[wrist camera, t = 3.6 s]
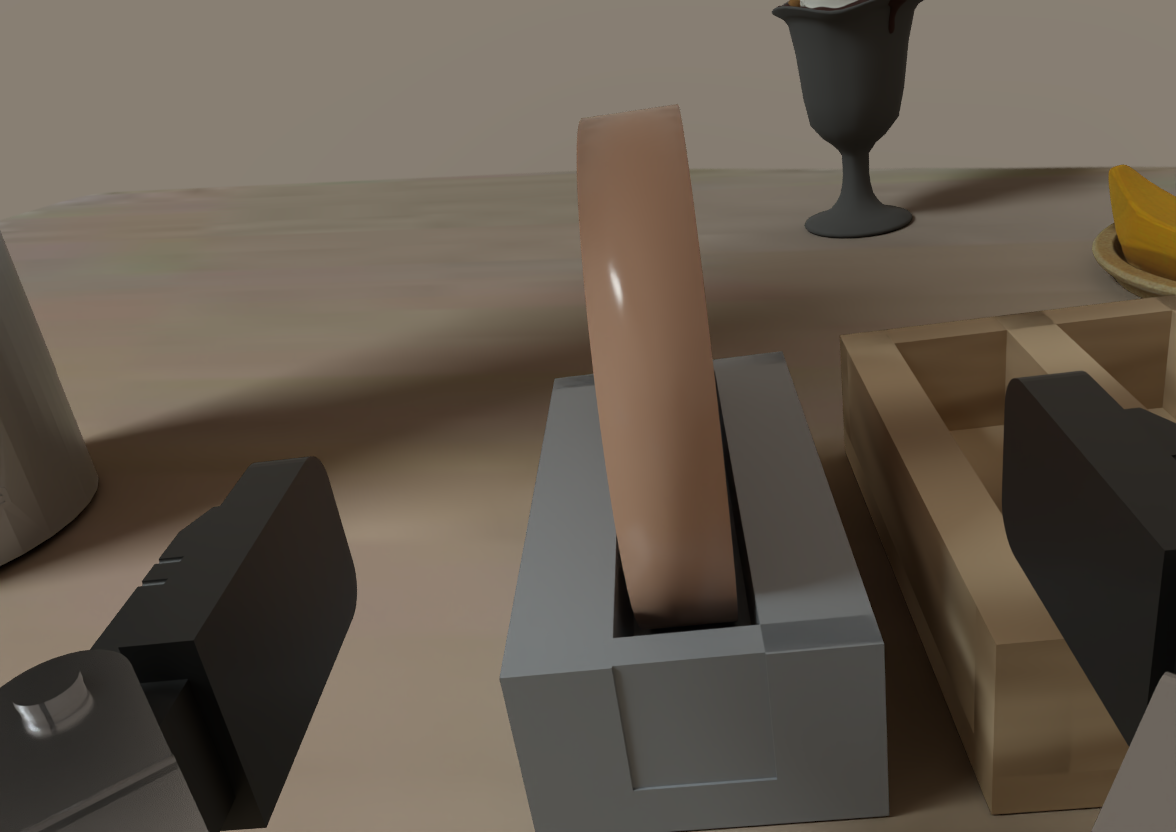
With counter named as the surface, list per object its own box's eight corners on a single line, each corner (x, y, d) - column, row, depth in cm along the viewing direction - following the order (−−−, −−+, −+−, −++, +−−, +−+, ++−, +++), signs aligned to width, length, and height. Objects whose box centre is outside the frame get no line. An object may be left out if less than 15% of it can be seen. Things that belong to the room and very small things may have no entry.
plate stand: (889, 815, 17) (883, 643, 15) (537, 841, 18) (499, 677, 16) (790, 472, 28) (782, 351, 26) (575, 495, 28) (554, 378, 27)
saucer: (752, 737, 18) (693, 165, 13) (649, 746, 18) (559, 183, 14) (713, 466, 27) (670, 72, 22) (645, 473, 27) (590, 84, 23)
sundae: (841, 253, 44) (825, -131, 38) (761, 226, 50) (735, -112, 44) (963, 219, 46) (967, -153, 40) (872, 196, 52) (863, -131, 46)
